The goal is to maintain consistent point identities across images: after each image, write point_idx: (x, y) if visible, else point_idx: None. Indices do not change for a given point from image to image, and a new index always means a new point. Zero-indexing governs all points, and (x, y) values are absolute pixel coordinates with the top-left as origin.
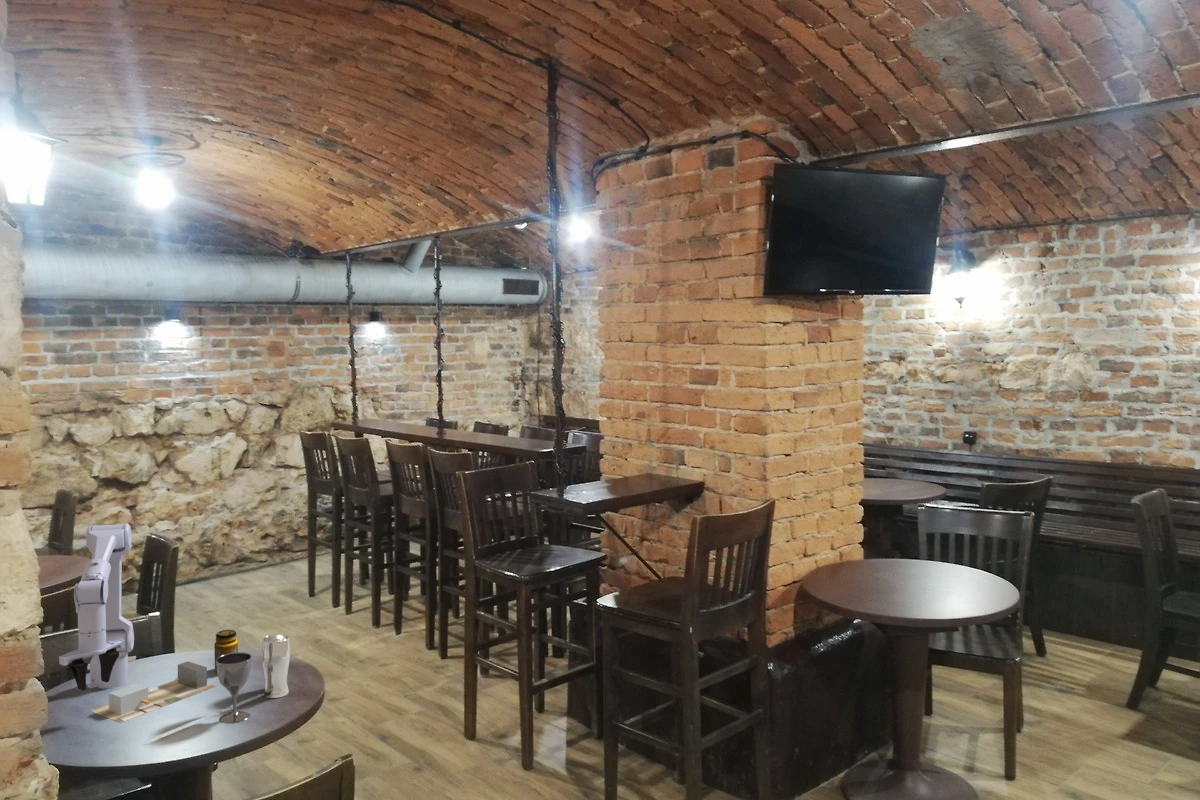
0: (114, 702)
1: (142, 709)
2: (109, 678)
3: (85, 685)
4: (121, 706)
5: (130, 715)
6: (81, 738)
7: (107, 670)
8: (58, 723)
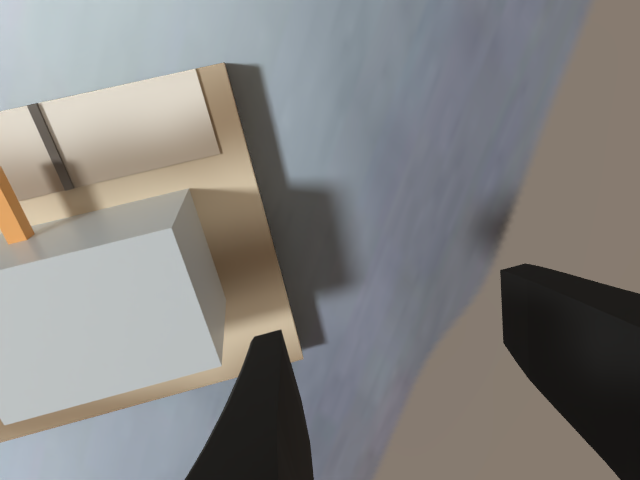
0: (204, 279)
1: (49, 179)
2: (251, 351)
3: (536, 280)
4: (177, 204)
5: (141, 133)
6: (432, 81)
7: (282, 430)
8: (428, 341)
